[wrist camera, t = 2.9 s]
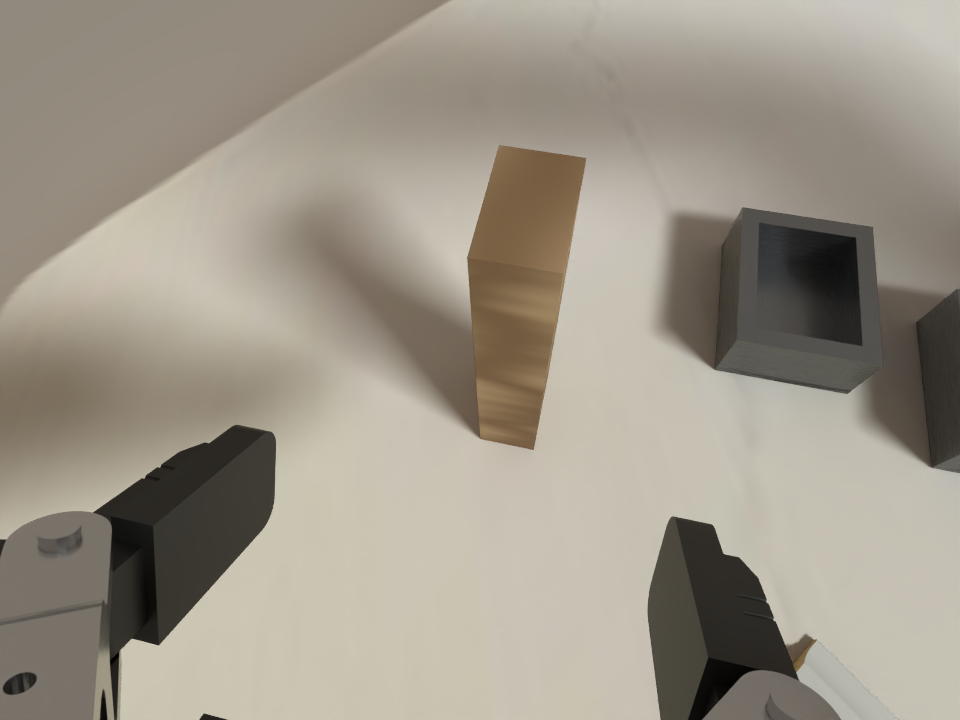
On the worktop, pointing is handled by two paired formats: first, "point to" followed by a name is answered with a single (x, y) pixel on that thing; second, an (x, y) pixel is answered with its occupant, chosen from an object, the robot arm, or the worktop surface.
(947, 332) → the endcap
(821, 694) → the baseboard
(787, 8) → the worktop surface
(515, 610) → the worktop surface
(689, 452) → the worktop surface
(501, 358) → the slat
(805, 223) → the endcap
